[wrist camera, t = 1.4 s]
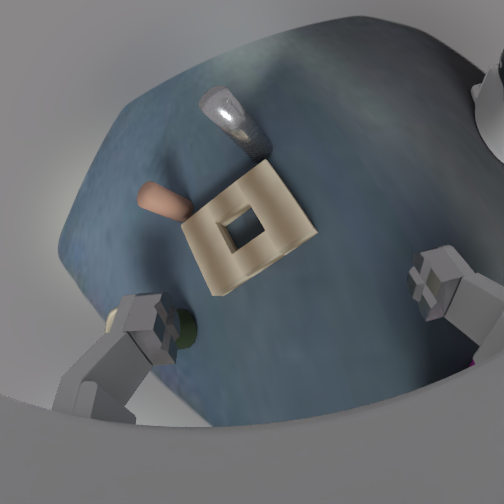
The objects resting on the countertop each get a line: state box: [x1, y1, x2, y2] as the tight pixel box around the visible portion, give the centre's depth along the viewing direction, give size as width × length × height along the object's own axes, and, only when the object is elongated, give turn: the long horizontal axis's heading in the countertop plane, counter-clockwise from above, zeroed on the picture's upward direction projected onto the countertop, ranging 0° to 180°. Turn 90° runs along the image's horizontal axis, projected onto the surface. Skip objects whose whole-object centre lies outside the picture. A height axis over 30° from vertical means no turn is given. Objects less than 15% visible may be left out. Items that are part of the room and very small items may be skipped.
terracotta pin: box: [137, 181, 193, 222], centre depth 42 cm, size 4×4×9 cm
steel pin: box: [199, 86, 273, 162], centre depth 35 cm, size 4×4×14 cm
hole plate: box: [181, 159, 318, 296], centre depth 39 cm, size 16×12×3 cm
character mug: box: [105, 307, 197, 349], centre depth 37 cm, size 11×7×13 cm, turn 134°
